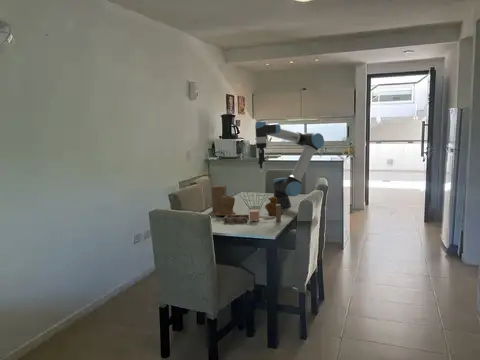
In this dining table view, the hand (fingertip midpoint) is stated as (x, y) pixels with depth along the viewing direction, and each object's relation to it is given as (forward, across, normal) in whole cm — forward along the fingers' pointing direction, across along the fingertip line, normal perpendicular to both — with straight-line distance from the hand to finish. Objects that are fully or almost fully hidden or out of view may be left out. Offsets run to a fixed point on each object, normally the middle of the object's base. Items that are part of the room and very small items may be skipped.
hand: (262, 171), depth 295 cm
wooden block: (+32, -12, -36) cm, 50 cm away
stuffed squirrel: (+32, +5, +7) cm, 33 cm away
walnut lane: (+32, +23, -17) cm, 43 cm away
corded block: (+31, +23, +3) cm, 39 cm away
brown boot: (+32, +5, -28) cm, 43 cm away
